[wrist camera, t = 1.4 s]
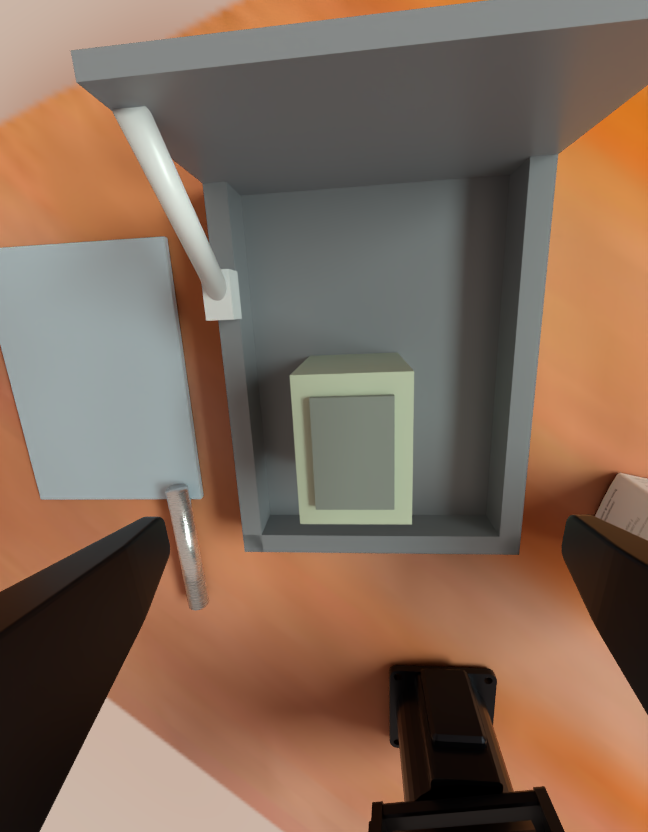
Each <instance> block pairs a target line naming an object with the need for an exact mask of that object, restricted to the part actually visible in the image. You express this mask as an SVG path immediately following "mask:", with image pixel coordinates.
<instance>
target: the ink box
mask: <svg viewBox="0 0 648 832" xmlns="http://www.w3.org/2000/svg"><path fill="white" fill-rule="evenodd" d="M595 517H597V518H599V519H602V520H604V521H606V522H608V523H610V524H613V525H615V526H617V527H619V528H621V529H624V530H626V531H628V532H630V533H632V534H635V535H637V536H639V537H641V538H643V539H646V540H648V479H647V478H642V477H637V476H632V475H628V474H624V473H618V474H617V476H616V477H615V479H614V480H613V482H612V484H611V485H610V487H609V489H608V491H607V493H606V495H605V496H604V498H603V500H602V502H601V505H600V507H599V509H598V511H597V513H596V515H595Z"/></svg>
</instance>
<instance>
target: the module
mask: <svg viewBox="0 0 648 832" xmlns="http://www.w3.org/2000/svg"><path fill="white" fill-rule="evenodd" d="M290 387H291V401H292V415H293V430H294V444H295V458H296V472H297V486H298V500H299V515H300V524H412V490H413V419H414V370H413V369H412V368H411V367H410V366H409V365H408V364H407V363H406V361H405V360H404V359H403V358H402V357H401V356H400V355H399V354H398V353H372V354H345V355H318V356H309V357H308V358H307V359H306V360H305V361H304V362H303V363H302V364H301V365H300V366H299V367H298V368H297V369H296V370H295V371H294V372H293V373H292V374H291V375H290Z"/></svg>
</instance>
